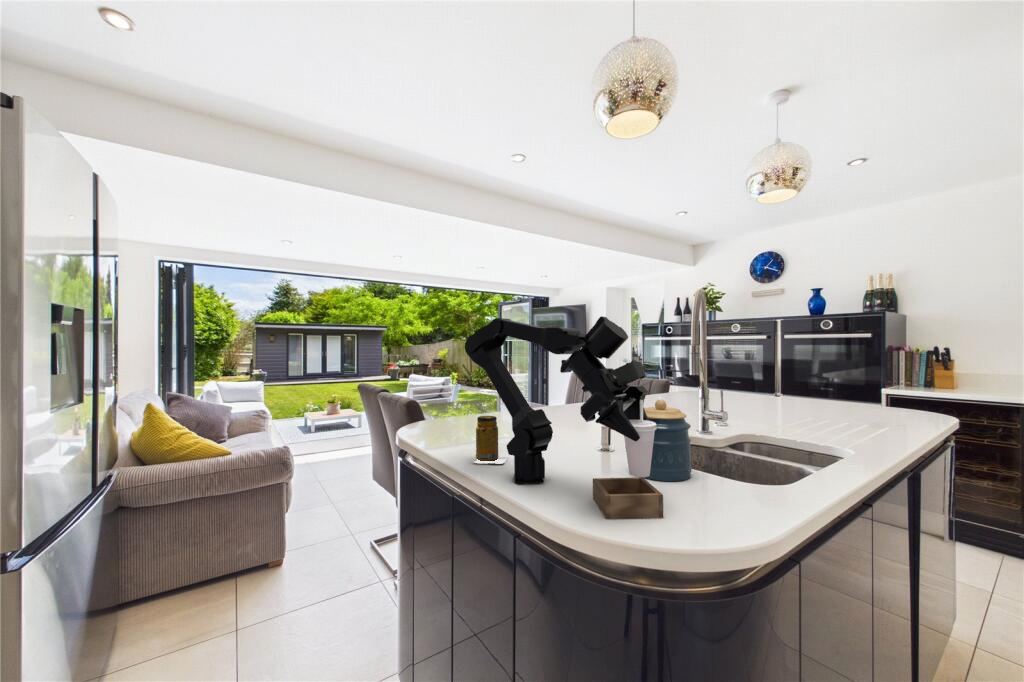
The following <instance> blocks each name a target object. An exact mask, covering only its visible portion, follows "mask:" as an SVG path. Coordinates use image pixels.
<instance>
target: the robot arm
mask: <svg viewBox="0 0 1024 682" xmlns="http://www.w3.org/2000/svg"><path fill="white" fill-rule="evenodd" d="M508 337H510V338H514V339H517V340H520V341H521V340H522V341H524V342H529V343H533V344H536V345H538V346H540V347H541V348H542V349H544V350H546V351H548V352H550V353H552V354H553V355H570V356H569V357H568V358H567V359H561V361H560V362H561V363H560V364H561V366H560V370H559V371H560V373H561V374H562V373H563V374H564V373H571V372H572V373H573V374H574V375H575V376H576V378H577V379H578V380H579V381H580V382H581V384H582V385H583V386H582V387H581V390H582V391H583V392H584V393H587V392H589V394H590V395H591V396H590V397H589V398H588V399H587V400H586V401H585V402H584V403H583V404H582V405H581V406H580V415H581V417H582V418H583V420H585V422H586V423H588V422H592V421H594V420H595V421H594V422H595V423H596V424H600V425H602V426H604V427H607V428H608V429H611V430H613V431H615V432H617V433H619V434H621V435H622V436H623V437H624V436H626V437H628V438H630V439H632V440H633V441H638V440H639V439H640V436H639V435H638V433H637V431H636V430H635V428H634V427H633V425H632V424H631V422H630V421H629V420H640V400H643V405H644V402H645V399H646V396H647V395H648V394H649V391H648V389H646V387H645V386H644V385H643V384H642V385H641V384H639V385H638V384H634V385H629V384H630V383H632V382H633V383H634V382H635V381H637V380H643V379H645V378H647V375H646V372H645V370H646V366H645V365H643V364H642V361H637V360H636V359H634V360H631V361H629V362H626V363H625V364H623V365H622V366H618V367H616V368H615V369H614V368H611V367H610V368H607V367H606V365H604V363H602V361H601V360H603V358H604V359H607V360H609V359H610V358H611V357H612V356H613V355H614V354H615V353H616V352H618V351H617V350H619V349H620V348H621V346H622V345H623V344H624V343H625V342H626V341H627V340H628V339H629V336H628V333H627V332H626V331H625V330H624V328H622V327H621V326H619V325H617V323H615V322H613V321H612V320H610V319H608V318H607V316H603V315H602V316H600V317H599V318H598V319H597V320H596V322H595V323H594V325H592V327H591V328H590V330H589V331H588V332H587V333H581V331H580V330H579V329H577V328H574V327H573V328H572V327H559V326H558V327H557V326H556V327H555V326H554V327H553V326H551V327H550V326H549V327H548V326H545V327H543V326H538V325H534V324H529V323H524V322H522V321H521V322H520V321H516V320H511V319H510V318H502V317H497V318H496V317H495V318H494V319H492V320H491V321H490V322H489V323H488V324H486V325H485V326H483V327H481V328H479V329H477V330H476V331H474V332H473V334H470V335H469V336H468V337H467V339H466V341H465V343H464V351H465V353H466V354H467V356H468V357H469V359H470V360H471V361H472V362H473V363H474V364H476V365H477V366H479V367H480V368H481V369H482V370H484V371H485V373H486V375H487V376H488V379H489V380H490V382H491V384H492V385H493V387H494V389H495V391H496V392H497V394H498V396H499V398H500V399H501V401H502V403H503V404H504V406H505V408H506V409H507V411H508V413H509V415H510V416H511V430H512V432H513V435H514V436H513V437H512V438H511V440H510V441H508V443H507V444H506V450H507V453H508V455H509V456H514V457H513V464H514V465H513V467H514V469H513V470H514V473H513V481H514V484H515V485H519V484H520V485H521V484H522V485H523V484H525V485H526V484H528V485H529V484H544V482H545V481H544V479H545V478H546V461H545V458H544V457H543V453H542V452H546V451H547V450H548V447H549V443H550V442H551V440H552V438H553V433H554V432H553V431H554V430H553V428H552V421H550V420H549V418H548V417H547V415H546V412H545V410H544V409H542V408H540V409H534V408H532V407H531V406H530V404H529V403H528V401H527V400H526V398H525V396H524V394H523V393H522V391H521V390H520V388H519V386H518V385H517V382H515V380H514V378H513V377H512V375H511V374H510V372H509V370H508V369H507V366H506V364H504V362H503V360H502V355H503V354H502V348H501V347H502V346H503V345H505V343H506V340H507V339H508ZM644 408H645V407H644V406H643V420H647V421H649V419H648V417H647V415H646V413H645V410H644ZM596 414H597V415H598V417H597V416H596ZM596 417H597V419H596Z"/></svg>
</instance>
